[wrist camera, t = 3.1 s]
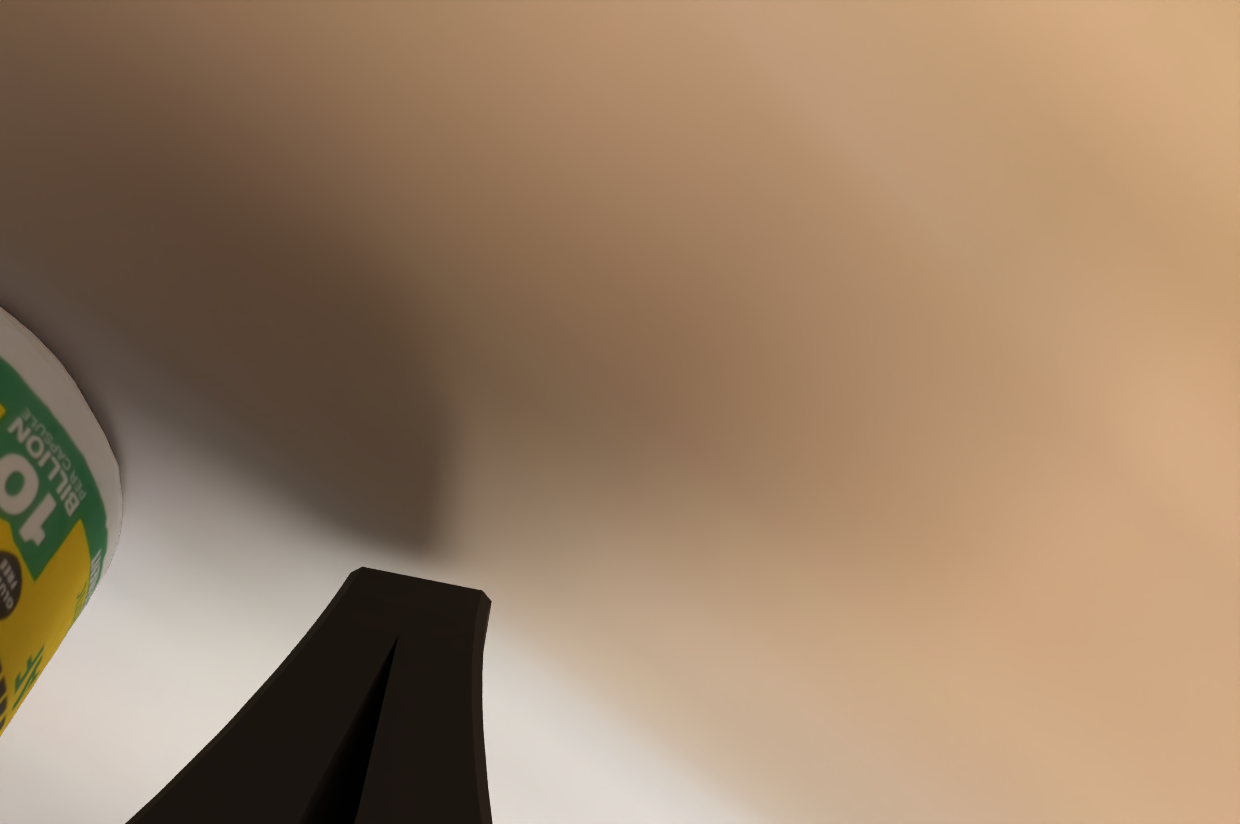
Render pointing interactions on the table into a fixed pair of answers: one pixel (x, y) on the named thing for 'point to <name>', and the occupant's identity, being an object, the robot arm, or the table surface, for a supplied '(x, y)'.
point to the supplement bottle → (47, 509)
